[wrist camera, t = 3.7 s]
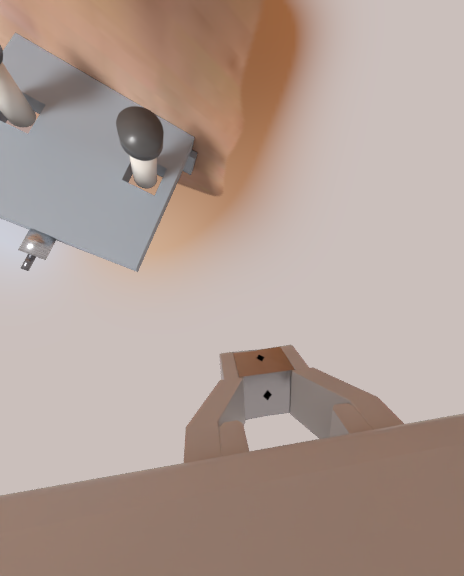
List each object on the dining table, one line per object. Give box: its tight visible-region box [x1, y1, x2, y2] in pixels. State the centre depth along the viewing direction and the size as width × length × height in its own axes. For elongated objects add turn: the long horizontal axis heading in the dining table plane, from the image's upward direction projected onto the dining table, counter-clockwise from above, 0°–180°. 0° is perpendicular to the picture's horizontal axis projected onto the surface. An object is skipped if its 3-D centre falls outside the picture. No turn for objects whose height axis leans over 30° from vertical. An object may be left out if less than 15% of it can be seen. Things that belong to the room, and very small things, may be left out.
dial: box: [19, 228, 56, 271], centre depth 29 cm, size 3×3×5 cm
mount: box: [0, 33, 197, 272], centre depth 34 cm, size 8×26×22 cm, turn 71°
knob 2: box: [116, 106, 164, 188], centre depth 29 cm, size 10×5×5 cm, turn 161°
